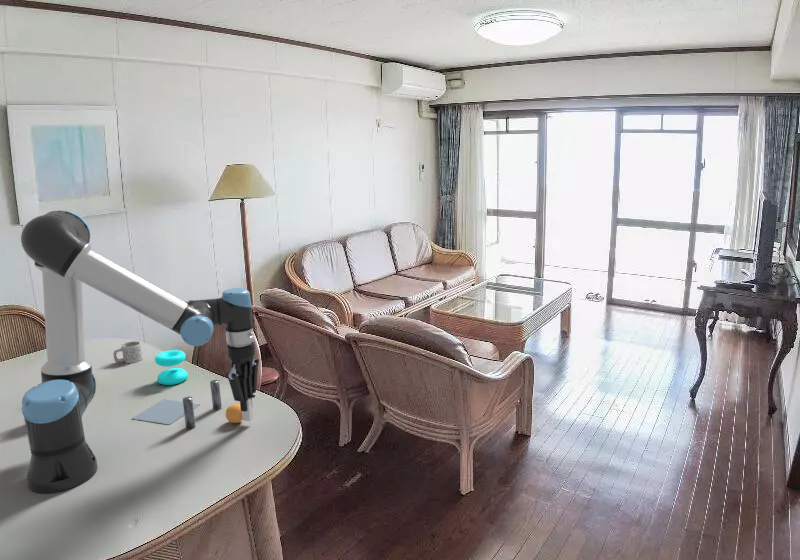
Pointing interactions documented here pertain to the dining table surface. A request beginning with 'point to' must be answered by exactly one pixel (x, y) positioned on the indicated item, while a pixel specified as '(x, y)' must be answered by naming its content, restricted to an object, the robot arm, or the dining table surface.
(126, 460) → the dining table surface
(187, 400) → the near post
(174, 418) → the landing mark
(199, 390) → the dining table surface
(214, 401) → the far post
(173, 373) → the donuts
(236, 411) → the ball
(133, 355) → the mug
